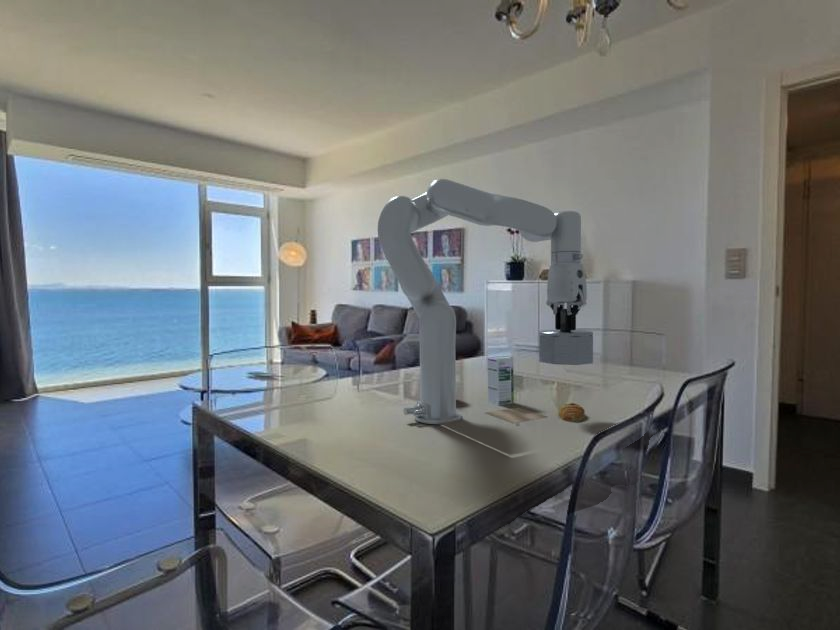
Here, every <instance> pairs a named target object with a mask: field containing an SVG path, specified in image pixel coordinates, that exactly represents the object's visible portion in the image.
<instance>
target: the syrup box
mask: <svg viewBox="0 0 840 630" xmlns="http://www.w3.org/2000/svg"><path fill="white" fill-rule="evenodd" d="M486 358H487V359H486V361H487V363H486V364H487V366H486V367H487V370H486V371H487V402H488V403H491V404H494V405H497V406H503V405H510V404H514V403H515V400H514V399H515V397H514V396H515V395H514V394H515V393H514V388H515V387H514V385H515V384H514V381H515V380H514V379H515V377H514V357H512V356H509V355H495V356H487V357H486Z"/></svg>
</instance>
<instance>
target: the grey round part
mask: <svg viewBox="0 0 840 630" xmlns="http://www.w3.org/2000/svg"><path fill="white" fill-rule="evenodd" d="M566 315H568V314H567V308H564V309H560V330H556V329H544V330H539V331H538V335H539V340H538V342H539V344H538V345H539V349H538V350H539V352H538V353H539V354H538V355H539V359H538V360H539V361H538V362H539V363H543V364H550V365H556V366H557V365H558V366H560V365H561V366H562V365H563V366H564V365H565V366H567V365H568V366H581V365H591V364H594V331H590V330H583V329H582V330H579V329H576V330H570V331H567V330H565V316H566Z"/></svg>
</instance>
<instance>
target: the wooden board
mask: <svg viewBox="0 0 840 630" xmlns="http://www.w3.org/2000/svg"><path fill="white" fill-rule="evenodd" d="M485 415H489V416H491V417H494V418H496V419H500V420H503V421H504V422H505V421H506V422H508V423H511V424H517V423H522V422H527V421H534V420H538V419H539V420H540V419H544V418H548V416H547V415H543V414H541V413H537V412H534V411H531V410H529V409H528V410H527V409H524V408H520V407H513V408H507V409H506V408H505V409H500V410H495V411H487V412H485Z"/></svg>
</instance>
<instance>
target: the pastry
mask: <svg viewBox="0 0 840 630" xmlns="http://www.w3.org/2000/svg"><path fill="white" fill-rule="evenodd" d="M585 413H586V412H585V408H583V407H582V406H580V405H579V404H577V403H576V402H575V403H574V402H569V403H565V404H564V405H562V406H561V408H560V409H559V410H558V414H557V415H558V416H559V419H561V420H562V421H565V422H568V423H569V422H570V423H577V422H581V421H583V420H584V419H585V418H586V414H585Z"/></svg>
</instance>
